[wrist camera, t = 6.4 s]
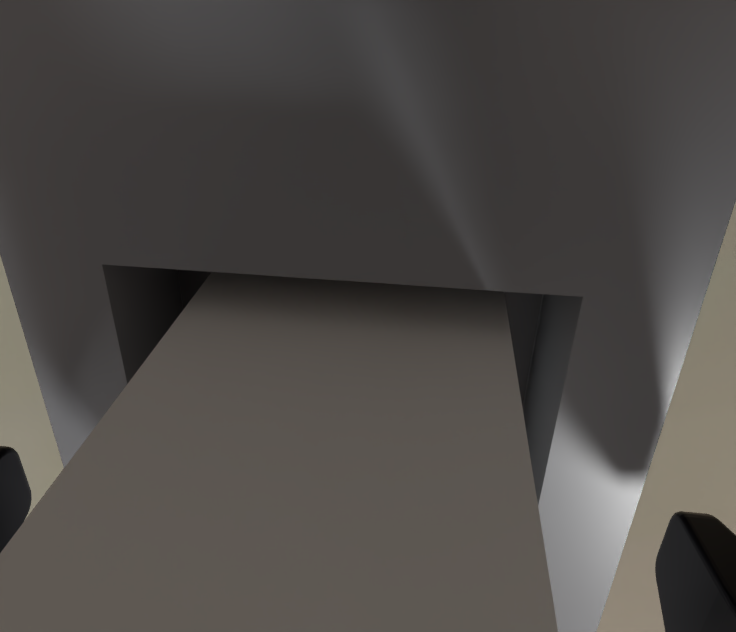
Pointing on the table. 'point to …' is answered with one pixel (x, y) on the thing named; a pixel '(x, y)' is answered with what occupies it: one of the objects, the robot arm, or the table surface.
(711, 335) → the table surface
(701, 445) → the table surface
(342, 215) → the pdu strip
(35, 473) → the table surface
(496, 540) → the plug
